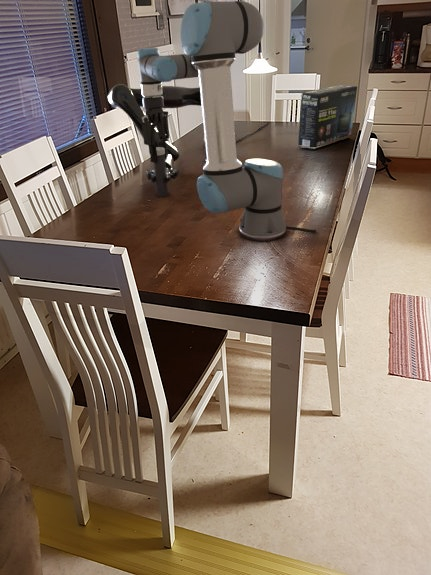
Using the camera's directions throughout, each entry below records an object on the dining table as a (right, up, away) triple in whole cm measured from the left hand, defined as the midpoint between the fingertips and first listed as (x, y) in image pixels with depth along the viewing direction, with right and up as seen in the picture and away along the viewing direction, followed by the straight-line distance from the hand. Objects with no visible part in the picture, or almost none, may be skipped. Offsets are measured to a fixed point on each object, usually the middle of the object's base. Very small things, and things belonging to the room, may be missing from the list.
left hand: (160, 180), depth 179 cm
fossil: (+24, +38, +75) cm, 88 cm away
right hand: (0, +7, -1) cm, 7 cm away
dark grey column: (0, -4, +6) cm, 7 cm away
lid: (0, +11, -3) cm, 11 cm away
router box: (+80, +35, +66) cm, 110 cm away
